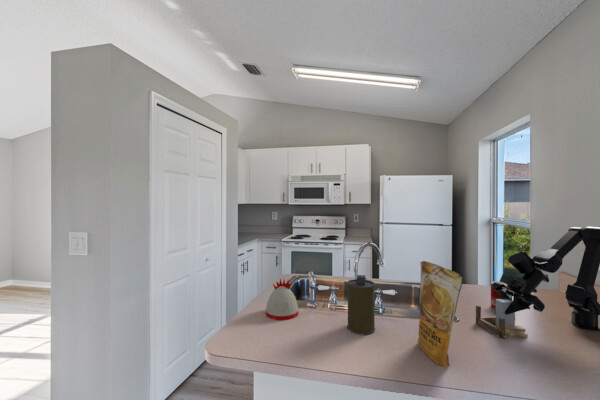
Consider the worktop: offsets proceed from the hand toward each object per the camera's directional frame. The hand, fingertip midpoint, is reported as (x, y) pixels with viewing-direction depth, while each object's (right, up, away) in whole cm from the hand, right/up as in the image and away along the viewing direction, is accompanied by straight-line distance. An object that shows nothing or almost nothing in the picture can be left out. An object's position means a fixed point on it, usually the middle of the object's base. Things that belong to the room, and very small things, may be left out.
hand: (501, 311), depth 109 cm
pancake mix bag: (-33, -7, -17) cm, 38 cm away
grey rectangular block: (+1, -7, 0) cm, 7 cm away
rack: (+1, -7, 0) cm, 7 cm away
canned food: (+16, -7, +23) cm, 28 cm away
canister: (-53, -7, +1) cm, 53 cm away
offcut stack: (+1, -7, -5) cm, 8 cm away
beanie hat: (-84, -7, +15) cm, 86 cm away
